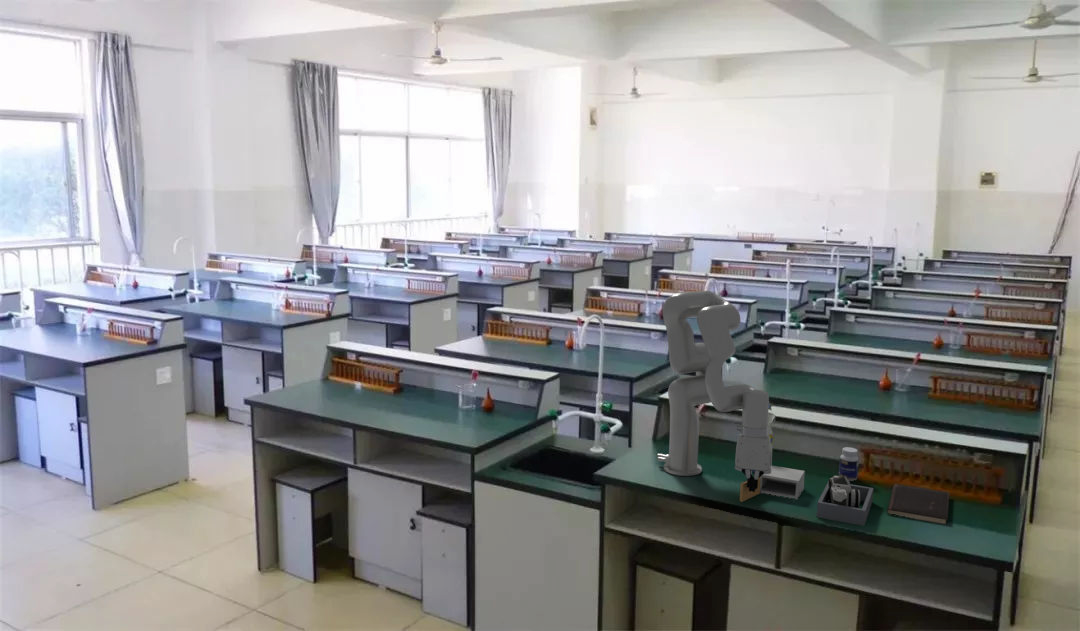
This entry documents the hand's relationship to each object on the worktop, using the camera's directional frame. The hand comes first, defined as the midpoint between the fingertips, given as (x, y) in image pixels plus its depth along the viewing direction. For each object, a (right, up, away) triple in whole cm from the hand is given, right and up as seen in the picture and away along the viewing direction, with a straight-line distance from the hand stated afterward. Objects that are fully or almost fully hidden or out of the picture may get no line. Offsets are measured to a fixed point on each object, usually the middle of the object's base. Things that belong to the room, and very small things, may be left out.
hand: (752, 490), depth 254 cm
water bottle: (+10, +1, +29) cm, 31 cm away
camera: (+26, -5, -5) cm, 27 cm away
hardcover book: (+50, -5, 0) cm, 50 cm away
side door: (+1, -3, +5) cm, 5 cm away
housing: (+12, -2, +10) cm, 16 cm away
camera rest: (+27, -5, -4) cm, 27 cm away
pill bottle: (+37, -1, +22) cm, 43 cm away
